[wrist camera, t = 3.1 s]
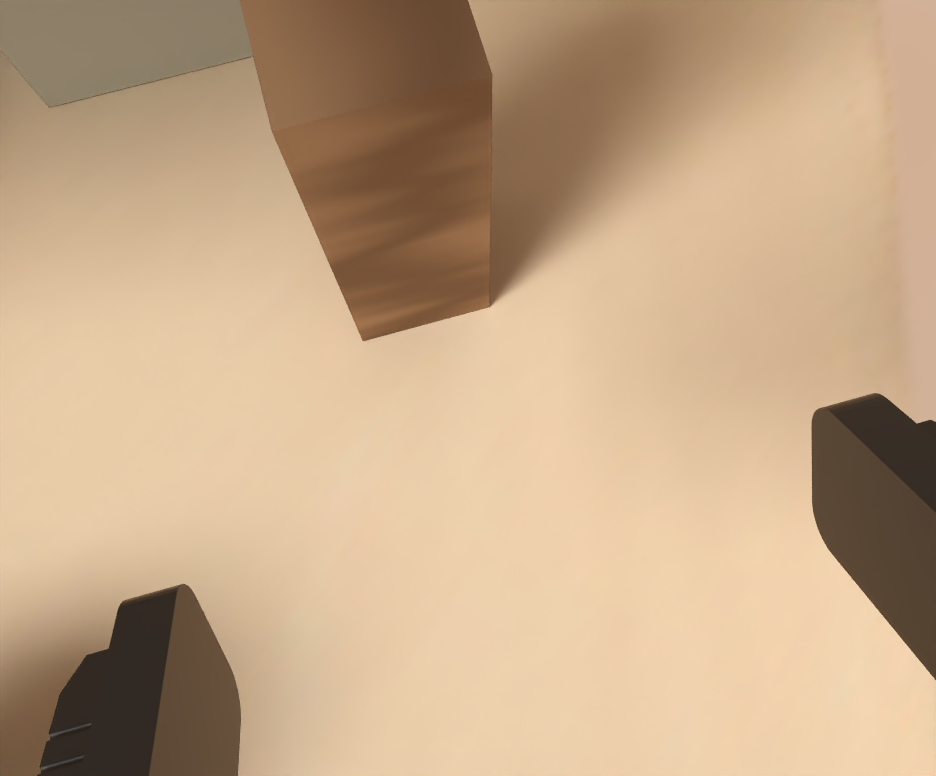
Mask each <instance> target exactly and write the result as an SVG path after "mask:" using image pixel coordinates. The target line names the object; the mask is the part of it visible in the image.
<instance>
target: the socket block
mask: <svg viewBox="0 0 936 776" xmlns="http://www.w3.org/2000/svg"><path fill="white" fill-rule="evenodd" d="M0 50H1V51H2V52H3V54H4V55H5V56H6V57H7V58H8V60H9V61H10V62H11V63H12V64H13V65H14V67H15V68H16V69H17V70H18V71H19V73H20V74H21V75H22V76H23V77H24V79H25V80H26V81H27V82H28V83H29V84H30V86H31V87H32V88H33V89H34V90H35V92H36V93H37V94H38V95H39V96H40V97H41V99H42V100H43V101H44V102H45V103H46V105H47V106H48V107H53V106H57V105H61V104H65V103H69V102H73V101H77V100H81V99H85V98H89V97H93V96H96V95H100V94H104V93H108V92H112V91H116V90H120V89H124V88H128V87H132V86H136V85H140V84H144V83H148V82H152V81H156V80H160V79H164V78H168V77H172V76H176V75H180V74H184V73H188V72H192V71H196V70H200V69H204V68H208V67H212V66H216V65H220V64H224V63H228V62H232V61H235V60H239V59H243V58H247V57H251V56H253V53H252V49H251V45H250V41H249V37H248V33H247V29H246V25H245V21H244V17H243V13H242V9H241V5H240V1H239V0H0Z"/></svg>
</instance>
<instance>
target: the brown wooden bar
mask: <svg viewBox="0 0 936 776" xmlns="http://www.w3.org/2000/svg"><path fill="white" fill-rule="evenodd" d="M239 1H240V5H241V9H242V13H243V17H244V21H245V25H246V29H247V33H248V37H249V41H250V45H251V49H252V53H253V57H254V61H255V65H256V69H257V73H258V77H259V81H260V85H261V89H262V93H263V97H264V101H265V105H266V109H267V113H268V117H269V121H270V125H271V129H272V133H273V135H274V137H275V140H276V142H277V144H278V147H279V149H280V151H281V153H282V156H283V158H284V160H285V163H286V165H287V167H288V170H289V172H290V174H291V176H292V179H293V181H294V183H295V186H296V188H297V190H298V193H299V195H300V197H301V199H302V202H303V204H304V206H305V209H306V211H307V213H308V216H309V218H310V220H311V222H312V225H313V227H314V229H315V232H316V234H317V236H318V239H319V241H320V243H321V246H322V248H323V250H324V252H325V255H326V257H327V259H328V262H329V264H330V266H331V269H332V271H333V273H334V275H335V278H336V280H337V282H338V285H339V287H340V289H341V292H342V294H343V296H344V298H345V301H346V303H347V305H348V308H349V310H350V312H351V315H352V317H353V319H354V322H355V324H356V326H357V328H358V331H359V333H360V335H361V338H362V340H363V341H366V340H369V339H373V338H377V337H380V336H384V335H388V334H391V333H395V332H399V331H403V330H406V329H410V328H414V327H417V326H421V325H425V324H428V323H432V322H436V321H440V320H443V319H447V318H451V317H454V316H458V315H462V314H466V313H469V312H473V311H477V310H480V309H484V308H488V307H490V229H491V138H492V73H491V70H490V67H489V64H488V61H487V58H486V55H485V52H484V48H483V45H482V42H481V39H480V36H479V33H478V30H477V27H476V24H475V21H474V18H473V15H472V12H471V9H470V6H469V2H468V0H239Z"/></svg>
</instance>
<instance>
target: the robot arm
mask: <svg viewBox="0 0 936 776" xmlns="http://www.w3.org/2000/svg"><path fill="white" fill-rule="evenodd" d="M812 505H813V513H814V517H815V521H816V524H817V527H818V530H819V532H820V534H821V537H822V539H823V541H824V542H825V544H826V546H827V548H828V549H829V550H830V552H831V553H832V554H833V556H834V557H835V558H836V559H837V561H838V562H839V563H840V564H841V565H842V567H843V568H844V569H845V570H846V571H847V573H848V574H849V575H850V576H851V578H852V579H853V580H854V581H855V582H856V584H857V585H858V586H859V587H860V588H861V590H862V591H863V592H864V593H865V595H866V596H867V597H868V598H869V599H870V601H871V602H872V603H873V604H874V606H875V607H876V608H877V609H878V610H879V612H880V613H881V614H882V615H883V616H884V618H885V619H886V620H887V621H888V623H889V624H890V625H891V626H892V627H893V629H894V630H895V631H896V632H897V633H898V635H899V636H900V637H901V638H902V640H903V641H904V642H905V643H906V644H907V646H908V647H909V648H910V649H911V651H912V652H913V653H914V654H915V655H916V657H917V658H918V659H919V660H920V661H921V663H922V664H923V665H924V666H925V668H926V669H927V670H928V671H929V672H930V674H931V675H932V676H933V677H934V678H935V680H936V422H934V421H932V420H928V421H925V422H921V423H917V424H916V423H915V422H914V421H913V420H912V419H911V418H909V417H908V416H907V415H906V414H905V413H903V412H902V411H901V410H900V409H899V408H898V407H896V406H895V405H894V404H893V403H892V402H891V401H889V400H888V399H887V398H886V397H884V396H882V395H880V394H876V393H874V394H870V395H866V396H862V397H859V398H855V399H852V400H848V401H844V402H841V403H837V404H834V405H830V406H827V407H823V408H819V409H818V410H816V411H815V413H814V415H813V418H812ZM240 726H241V710H240V701H239V694H238V689H237V685H236V681H235V678H234V675H233V672H232V670H231V667H230V665H229V663H228V661H227V659H226V657H225V655H224V653H223V651H222V649H221V647H220V645H219V643H218V641H217V639H216V637H215V635H214V633H213V631H212V629H211V627H210V625H209V623H208V621H207V618H206V616H205V614H204V612H203V610H202V608H201V606H200V604H199V602H198V600H197V598H196V596H195V594H194V593H193V591H192V590H191V588H190V587H189V586H187V585H186V584H181V585H178V586H174V587H171V588H167V589H163V590H160V591H156V592H153V593H149V594H145V595H142V596H138V597H135V598H131V599H128V600H125V601H123V602H122V603H121V604H120V606H119V608H118V612H117V616H116V620H115V625H114V629H113V633H112V637H111V642H110V646H109V649H107V650H103V651H100V652H96V653H93V654H89V655H87V656H86V657H85V659H84V660H83V661H82V663H81V664H80V666H79V667H78V669H77V670H76V672H75V673H74V674H73V676H72V677H71V679H70V680H69V682H68V683H67V685H66V686H65V687H64V689H63V690H62V692H61V693H60V696H59V699H58V703H57V706H56V710H55V714H54V717H53V721H52V724H51V728H50V731H49V735H50V741H47V742H46V746H45V749H44V753H43V756H42V760H41V764H40V768H41V774H39V775H37V776H238V763H239V744H240Z"/></svg>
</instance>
